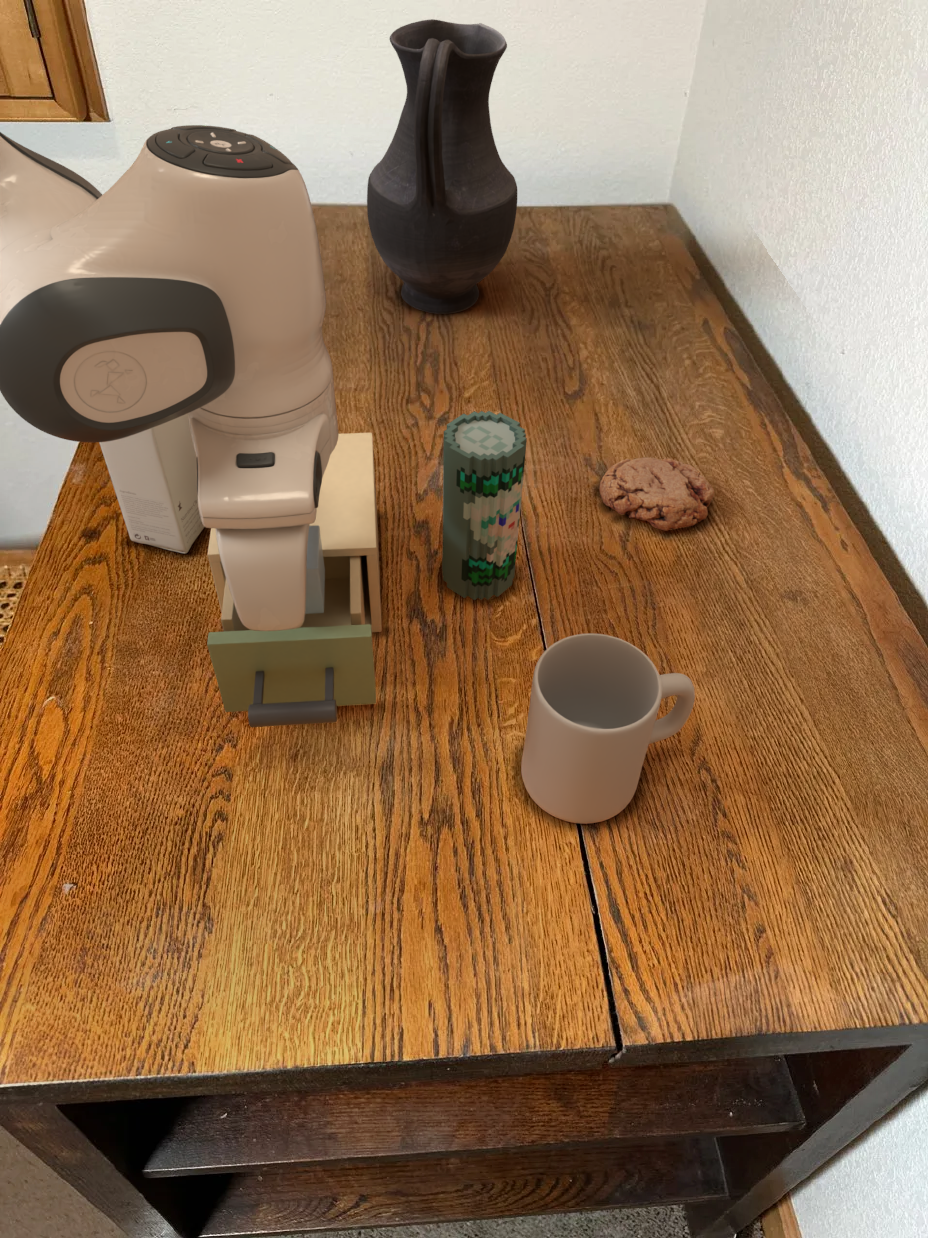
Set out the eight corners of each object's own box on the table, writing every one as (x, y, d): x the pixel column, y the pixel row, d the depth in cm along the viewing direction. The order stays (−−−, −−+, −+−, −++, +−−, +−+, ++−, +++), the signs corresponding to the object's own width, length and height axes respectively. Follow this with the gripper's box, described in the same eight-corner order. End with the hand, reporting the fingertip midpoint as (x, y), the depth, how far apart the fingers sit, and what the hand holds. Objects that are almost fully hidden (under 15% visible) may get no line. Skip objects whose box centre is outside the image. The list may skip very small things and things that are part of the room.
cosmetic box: (187, 556, 83) (149, 416, 72) (126, 542, 84) (80, 402, 73) (229, 498, 89) (200, 360, 78) (171, 486, 90) (135, 348, 79)
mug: (543, 838, 65) (559, 746, 57) (505, 741, 70) (514, 645, 62) (699, 797, 67) (736, 704, 59) (650, 707, 73) (678, 610, 65)
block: (260, 616, 67) (251, 571, 63) (264, 572, 70) (255, 527, 66) (324, 613, 67) (318, 568, 64) (324, 570, 70) (319, 524, 67)
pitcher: (515, 267, 121) (533, -2, 99) (503, 352, 107) (521, 61, 85) (383, 257, 122) (373, -11, 100) (354, 341, 108) (334, 50, 86)
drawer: (378, 754, 68) (372, 687, 62) (219, 763, 67) (199, 696, 62) (372, 580, 80) (367, 510, 75) (238, 586, 80) (223, 516, 74)
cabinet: (381, 632, 78) (376, 547, 70) (228, 639, 77) (207, 554, 70) (377, 516, 87) (372, 432, 80) (241, 522, 86) (224, 437, 79)
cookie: (593, 468, 93) (597, 443, 91) (698, 468, 93) (705, 444, 91) (606, 535, 86) (610, 510, 84) (719, 535, 87) (726, 511, 85)
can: (482, 609, 80) (490, 469, 69) (429, 576, 82) (429, 436, 71) (526, 572, 83) (540, 433, 72) (474, 541, 85) (480, 402, 74)
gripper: (226, 328, 64) (255, 487, 74) (193, 527, 50) (234, 689, 60) (319, 326, 64) (335, 484, 74) (312, 523, 50) (333, 683, 60)
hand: (290, 577), depth 67 cm, fingers closed on block, 4 cm apart
